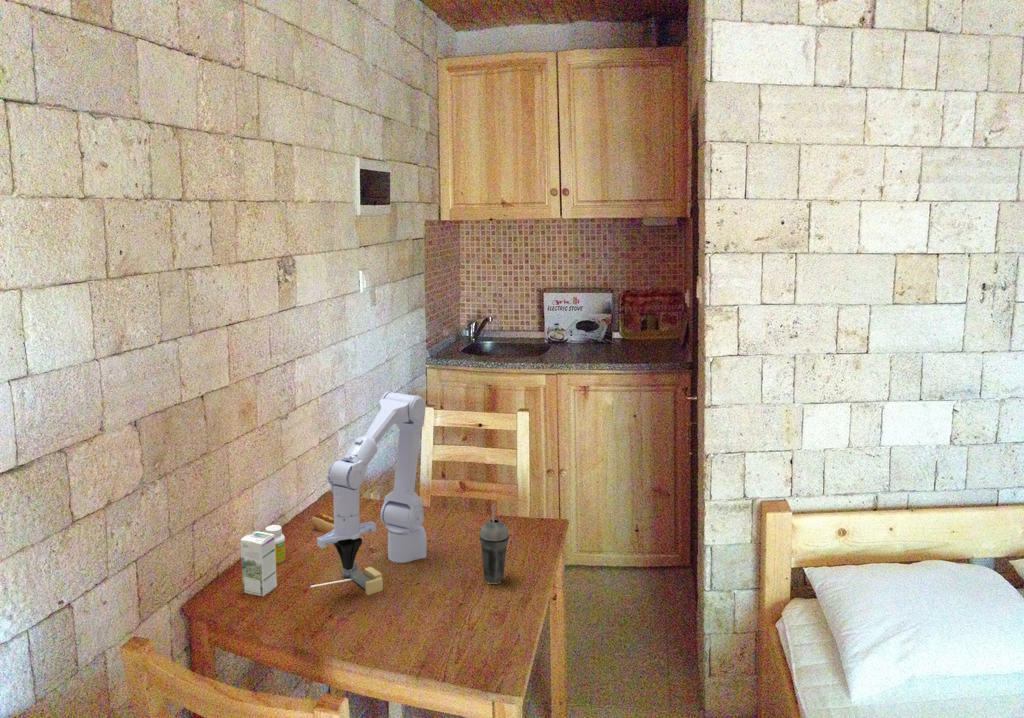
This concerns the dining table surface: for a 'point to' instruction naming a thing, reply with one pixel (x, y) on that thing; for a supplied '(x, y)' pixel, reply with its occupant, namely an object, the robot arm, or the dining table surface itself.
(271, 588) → the syrup box
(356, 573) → the latch bar
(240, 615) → the dining table surface
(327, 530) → the food
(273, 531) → the supplement bottle
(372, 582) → the board
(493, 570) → the beverage cup
